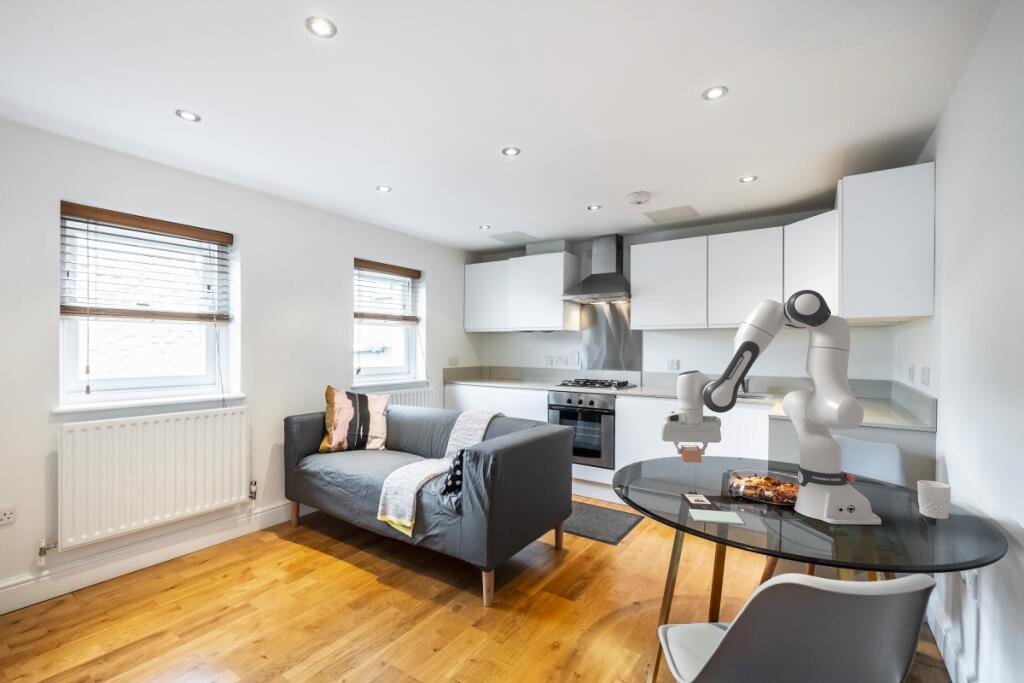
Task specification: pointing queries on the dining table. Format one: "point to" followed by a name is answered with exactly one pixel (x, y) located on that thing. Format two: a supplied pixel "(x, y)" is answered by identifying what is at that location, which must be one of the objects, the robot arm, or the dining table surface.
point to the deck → (691, 453)
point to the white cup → (934, 499)
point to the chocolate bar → (700, 502)
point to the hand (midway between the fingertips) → (690, 454)
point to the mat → (716, 516)
